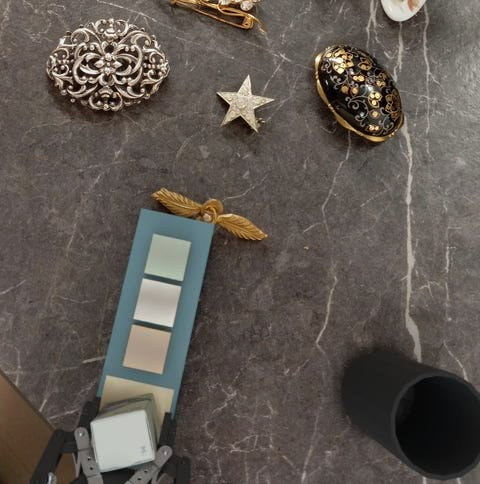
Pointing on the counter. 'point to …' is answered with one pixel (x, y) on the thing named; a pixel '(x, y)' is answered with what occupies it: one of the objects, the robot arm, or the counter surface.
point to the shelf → (191, 284)
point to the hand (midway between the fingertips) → (131, 410)
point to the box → (126, 432)
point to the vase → (416, 413)
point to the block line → (154, 311)
